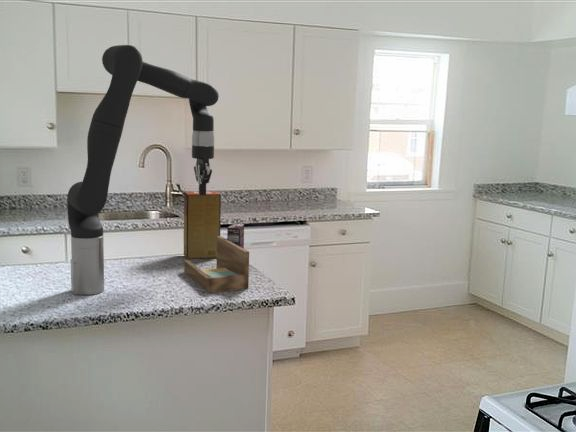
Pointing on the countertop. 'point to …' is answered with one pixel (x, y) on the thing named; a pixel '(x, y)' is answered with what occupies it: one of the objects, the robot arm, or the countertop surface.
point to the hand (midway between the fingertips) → (202, 194)
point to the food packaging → (201, 224)
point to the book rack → (226, 258)
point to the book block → (221, 274)
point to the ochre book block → (215, 270)
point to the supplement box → (236, 234)
